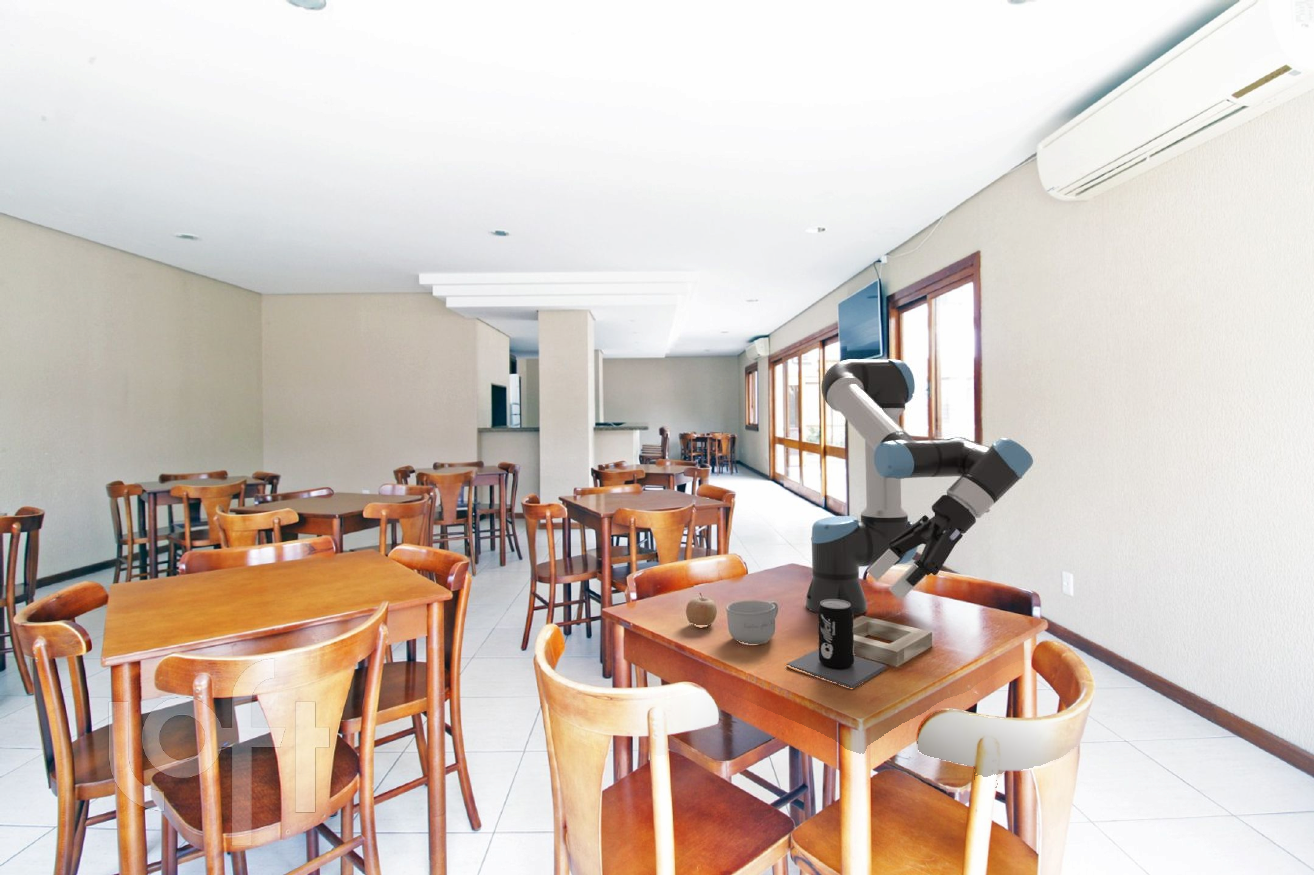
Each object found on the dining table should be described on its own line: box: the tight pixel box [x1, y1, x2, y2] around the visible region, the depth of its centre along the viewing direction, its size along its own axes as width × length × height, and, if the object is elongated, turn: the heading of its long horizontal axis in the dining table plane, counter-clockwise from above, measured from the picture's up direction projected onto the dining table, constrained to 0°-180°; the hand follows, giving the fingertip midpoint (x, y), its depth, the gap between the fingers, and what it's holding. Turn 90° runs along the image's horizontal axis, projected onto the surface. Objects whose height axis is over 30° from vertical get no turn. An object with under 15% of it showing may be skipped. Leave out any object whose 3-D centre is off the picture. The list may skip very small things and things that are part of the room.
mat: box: [786, 648, 887, 689], centre depth 117 cm, size 14×13×1 cm
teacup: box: [725, 600, 779, 645], centre depth 134 cm, size 14×11×8 cm
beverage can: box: [817, 599, 855, 670], centre depth 117 cm, size 7×7×12 cm
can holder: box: [853, 615, 933, 668], centre depth 129 cm, size 16×16×3 cm
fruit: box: [685, 592, 718, 625], centre depth 144 cm, size 8×7×8 cm
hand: (882, 585), depth 116 cm, fingers open, 13 cm apart
